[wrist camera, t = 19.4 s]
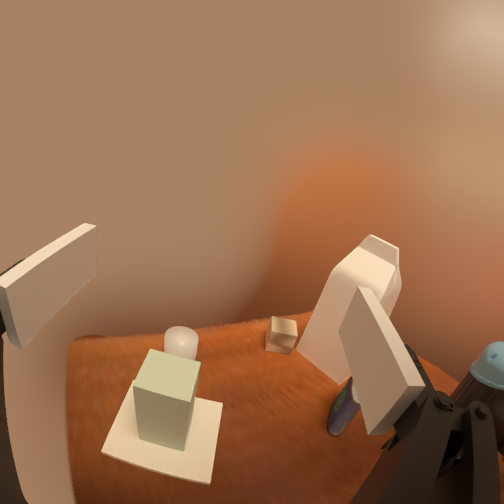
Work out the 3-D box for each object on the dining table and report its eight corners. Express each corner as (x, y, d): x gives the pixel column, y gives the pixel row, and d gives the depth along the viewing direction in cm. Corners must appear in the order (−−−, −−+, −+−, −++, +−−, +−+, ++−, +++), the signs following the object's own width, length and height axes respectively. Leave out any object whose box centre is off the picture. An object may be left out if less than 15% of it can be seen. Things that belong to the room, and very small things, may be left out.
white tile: (222, 406, 39) (222, 403, 39) (209, 485, 26) (210, 483, 26) (134, 382, 39) (133, 379, 38) (101, 453, 26) (100, 451, 25)
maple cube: (288, 339, 59) (296, 321, 57) (289, 355, 54) (297, 336, 52) (265, 335, 59) (271, 316, 57) (265, 350, 54) (271, 331, 52)
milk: (295, 349, 56) (340, 228, 46) (327, 333, 64) (369, 227, 54) (339, 385, 48) (402, 260, 38) (367, 362, 56) (421, 253, 46)
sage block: (192, 417, 35) (200, 362, 31) (183, 451, 30) (190, 401, 25) (151, 406, 35) (150, 348, 30) (139, 439, 29) (132, 385, 25)
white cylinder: (195, 365, 46) (201, 330, 43) (189, 386, 41) (194, 351, 38) (167, 358, 46) (170, 322, 43) (159, 378, 41) (160, 342, 38)
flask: (339, 438, 36) (372, 397, 32) (322, 433, 37) (353, 390, 33) (348, 400, 45) (375, 358, 41) (333, 395, 45) (359, 352, 42)
